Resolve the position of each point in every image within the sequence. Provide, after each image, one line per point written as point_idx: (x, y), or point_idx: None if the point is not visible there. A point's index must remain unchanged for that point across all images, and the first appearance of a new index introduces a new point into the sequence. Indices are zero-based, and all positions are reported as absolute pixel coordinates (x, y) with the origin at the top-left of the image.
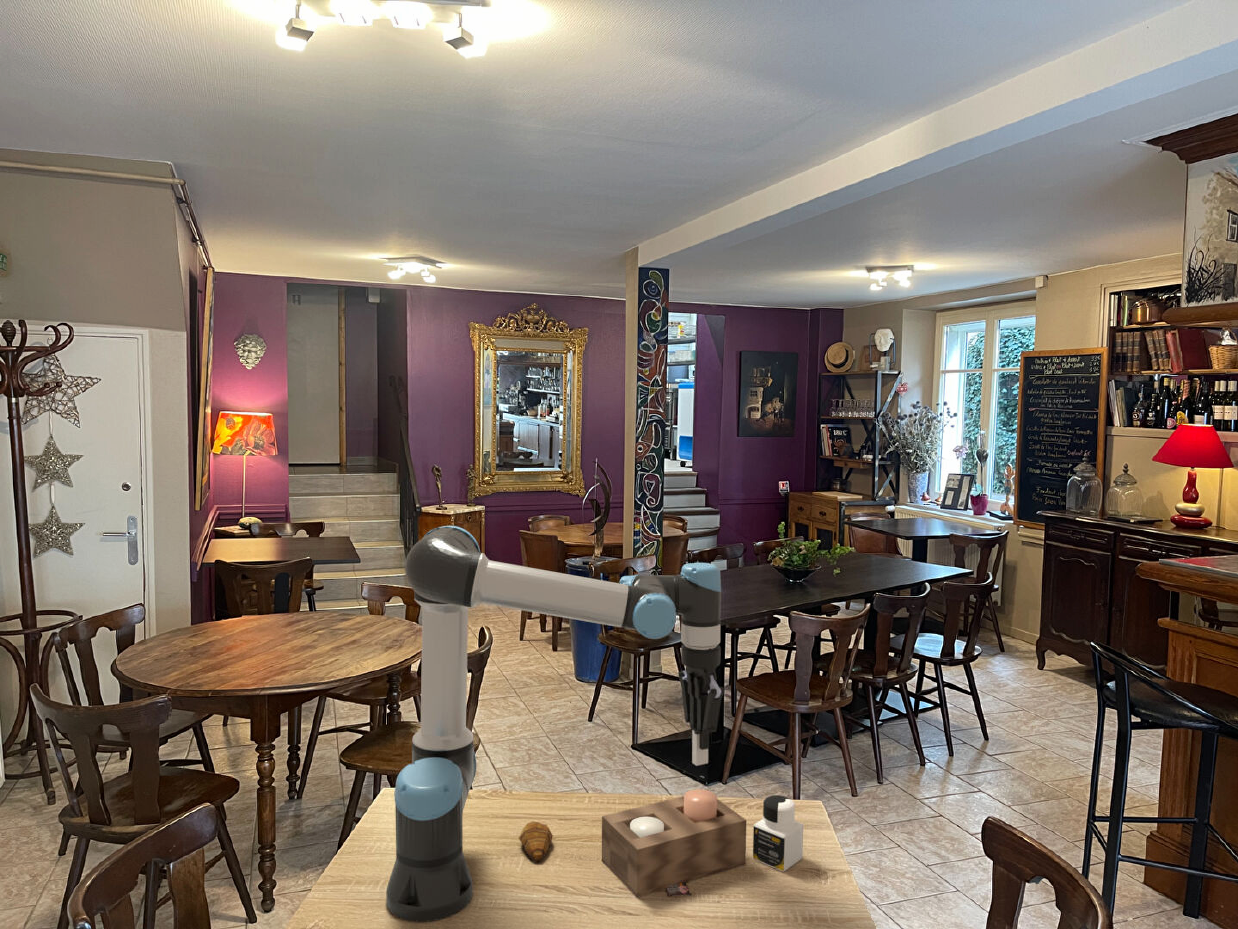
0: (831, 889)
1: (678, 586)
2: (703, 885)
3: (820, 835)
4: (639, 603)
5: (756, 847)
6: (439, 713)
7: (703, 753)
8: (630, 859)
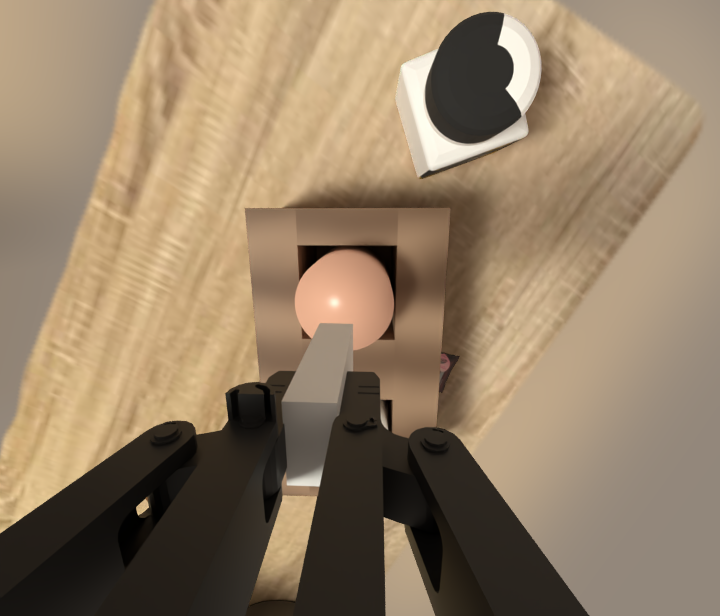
0: (603, 93)
1: None
2: (445, 323)
3: None
4: None
5: (433, 173)
6: None
7: (349, 367)
8: None
